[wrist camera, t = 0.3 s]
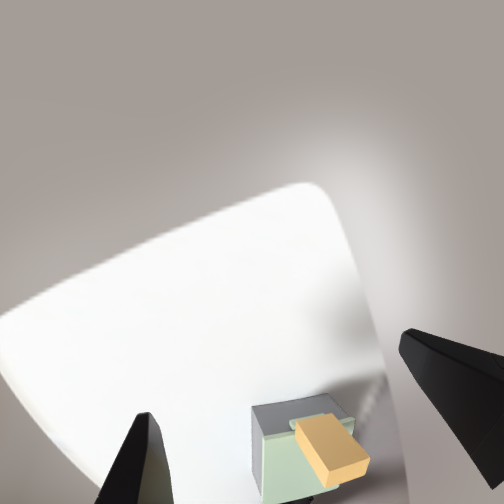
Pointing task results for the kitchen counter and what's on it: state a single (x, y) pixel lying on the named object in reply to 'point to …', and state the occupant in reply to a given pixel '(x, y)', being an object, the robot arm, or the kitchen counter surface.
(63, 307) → the kitchen counter surface
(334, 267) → the kitchen counter surface
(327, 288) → the kitchen counter surface
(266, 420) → the tub
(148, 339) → the kitchen counter surface
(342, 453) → the lid
